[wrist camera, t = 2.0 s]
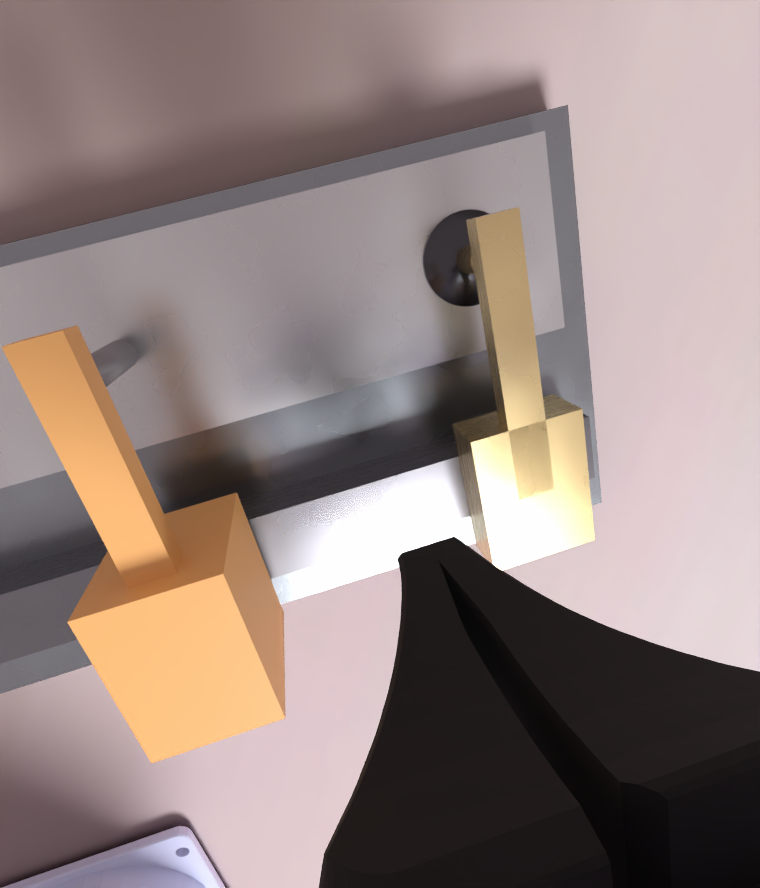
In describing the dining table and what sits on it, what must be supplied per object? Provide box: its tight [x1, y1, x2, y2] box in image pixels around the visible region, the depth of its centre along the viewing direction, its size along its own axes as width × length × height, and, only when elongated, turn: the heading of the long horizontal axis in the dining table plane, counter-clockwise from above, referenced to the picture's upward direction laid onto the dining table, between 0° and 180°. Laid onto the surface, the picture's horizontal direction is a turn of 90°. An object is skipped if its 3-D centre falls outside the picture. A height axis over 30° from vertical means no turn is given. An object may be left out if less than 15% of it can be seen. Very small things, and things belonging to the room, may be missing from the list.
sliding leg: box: [2, 325, 285, 763], centre depth 12 cm, size 9×3×4 cm, turn 14°
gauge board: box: [0, 105, 602, 694], centre depth 14 cm, size 12×29×4 cm, turn 104°
